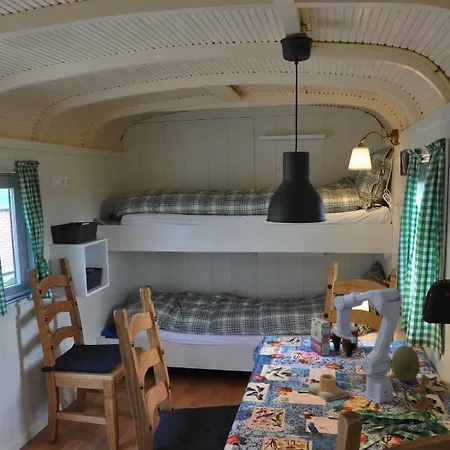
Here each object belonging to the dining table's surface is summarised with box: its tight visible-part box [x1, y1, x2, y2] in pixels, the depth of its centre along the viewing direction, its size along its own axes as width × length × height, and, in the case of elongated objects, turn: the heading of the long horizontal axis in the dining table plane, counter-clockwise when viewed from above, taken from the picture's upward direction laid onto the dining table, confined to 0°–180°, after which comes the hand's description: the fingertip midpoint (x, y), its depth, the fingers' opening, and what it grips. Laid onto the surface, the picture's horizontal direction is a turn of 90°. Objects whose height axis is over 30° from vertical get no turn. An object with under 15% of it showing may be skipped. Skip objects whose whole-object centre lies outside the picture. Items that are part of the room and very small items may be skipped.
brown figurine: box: [412, 374, 433, 412], centre depth 181 cm, size 9×4×12 cm, turn 138°
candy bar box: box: [310, 316, 331, 357], centre depth 237 cm, size 11×5×16 cm, turn 17°
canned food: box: [341, 325, 359, 352], centre depth 241 cm, size 8×8×11 cm
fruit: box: [391, 345, 421, 383], centre depth 204 cm, size 11×11×15 cm
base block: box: [307, 382, 348, 402], centre depth 193 cm, size 12×10×2 cm
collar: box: [319, 373, 337, 392], centre depth 193 cm, size 6×6×5 cm
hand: (342, 354), depth 206 cm, fingers open, 7 cm apart
